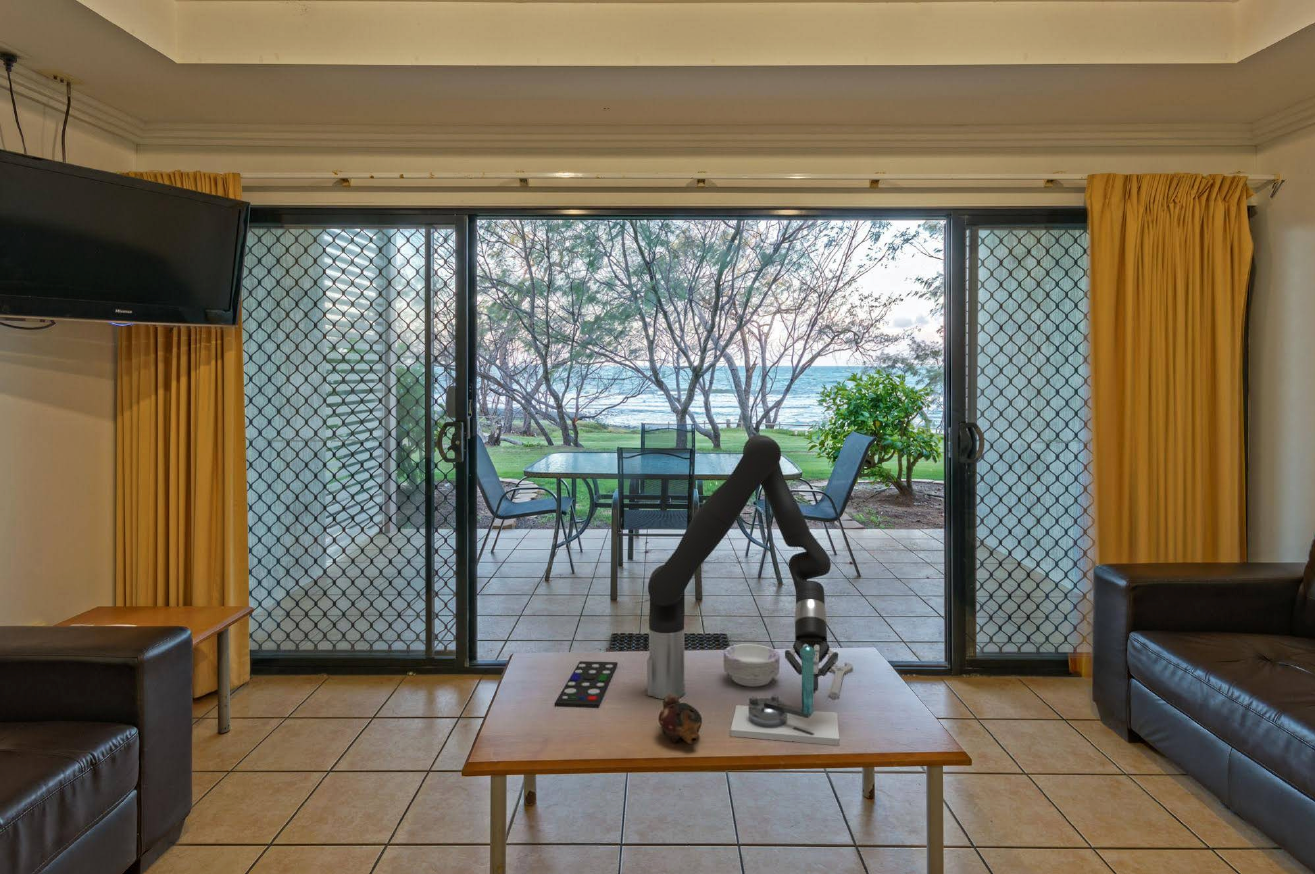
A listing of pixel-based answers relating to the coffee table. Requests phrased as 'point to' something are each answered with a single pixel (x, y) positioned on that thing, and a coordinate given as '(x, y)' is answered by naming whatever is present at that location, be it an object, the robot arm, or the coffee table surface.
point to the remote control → (587, 685)
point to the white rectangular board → (789, 728)
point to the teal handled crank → (775, 710)
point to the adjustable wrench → (838, 679)
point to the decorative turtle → (679, 720)
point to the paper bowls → (751, 664)
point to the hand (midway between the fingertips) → (812, 691)
